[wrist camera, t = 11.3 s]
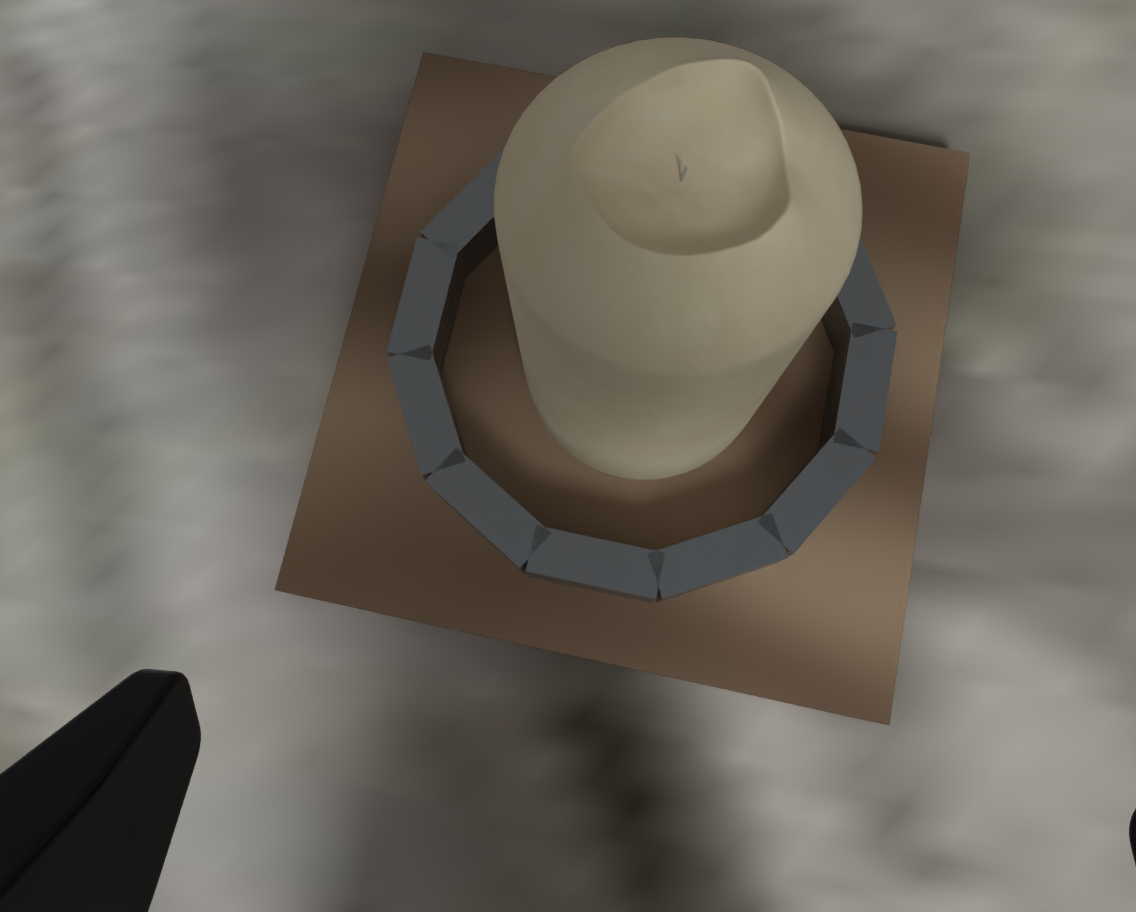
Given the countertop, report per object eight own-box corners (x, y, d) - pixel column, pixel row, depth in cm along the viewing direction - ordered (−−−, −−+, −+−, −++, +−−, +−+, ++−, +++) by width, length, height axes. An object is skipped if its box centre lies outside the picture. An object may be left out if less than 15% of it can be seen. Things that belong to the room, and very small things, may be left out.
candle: (627, 217, 23) (659, -100, 14) (806, 356, 23) (978, 124, 13) (478, 382, 23) (398, 170, 13) (658, 532, 22) (720, 429, 12)
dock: (875, 722, 22) (912, 730, 19) (288, 592, 23) (252, 584, 20) (954, 172, 25) (996, 119, 22) (429, 75, 25) (413, 13, 23)
